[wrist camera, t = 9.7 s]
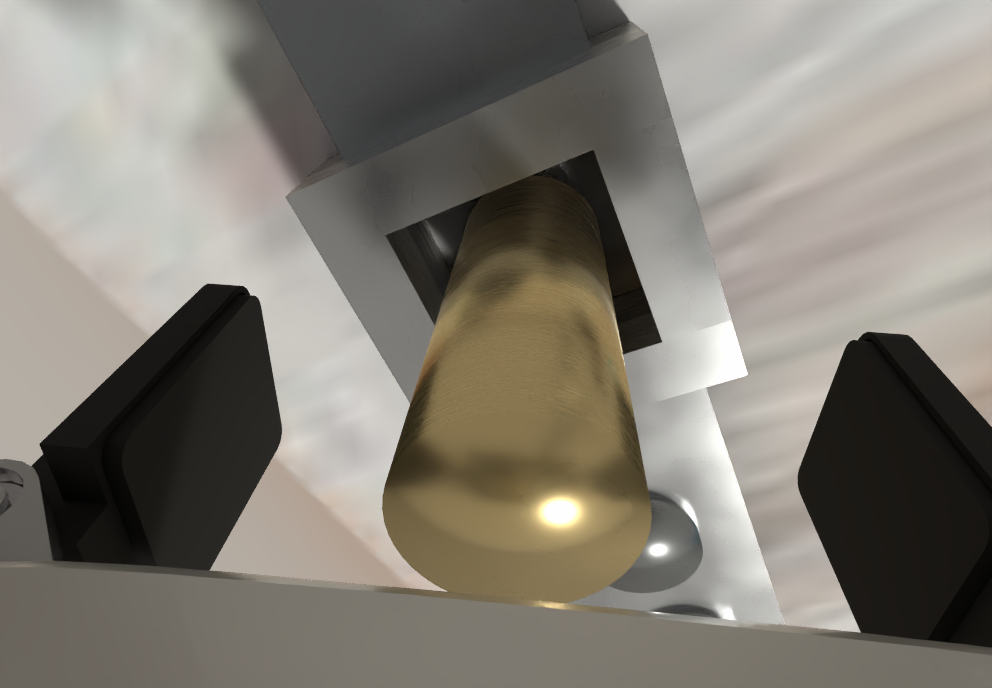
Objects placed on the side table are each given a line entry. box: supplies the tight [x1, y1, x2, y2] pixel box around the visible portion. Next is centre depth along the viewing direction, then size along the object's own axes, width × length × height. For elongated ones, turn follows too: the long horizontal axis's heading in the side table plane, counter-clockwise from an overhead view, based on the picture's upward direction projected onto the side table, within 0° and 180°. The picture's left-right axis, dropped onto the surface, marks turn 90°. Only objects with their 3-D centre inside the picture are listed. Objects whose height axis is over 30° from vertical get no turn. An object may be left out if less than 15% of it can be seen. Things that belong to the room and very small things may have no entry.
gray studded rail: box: [257, 0, 785, 625], centre depth 16 cm, size 32×8×4 cm, turn 24°
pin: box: [382, 175, 652, 603], centre depth 13 cm, size 4×4×10 cm
